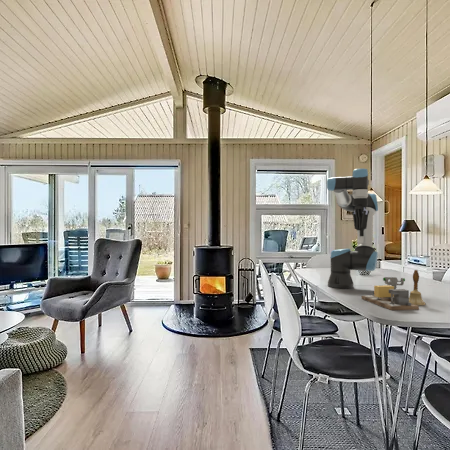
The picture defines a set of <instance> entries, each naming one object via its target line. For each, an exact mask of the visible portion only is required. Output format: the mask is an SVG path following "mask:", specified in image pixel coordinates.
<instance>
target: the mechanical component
mask: <svg viewBox="0 0 450 450" xmlns="http://www.w3.org/2000/svg"><path fill="white" fill-rule="evenodd" d="M382 281H383V282H384V283H385V284H384V285H390V286H394V289H398V287H397V286H403V285H404V282H405V281H406V279H405V277H404V278H403V277H400V280H399V279H398V277H392V276H388V277H387V276H384V277H383V278H382Z"/></svg>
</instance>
